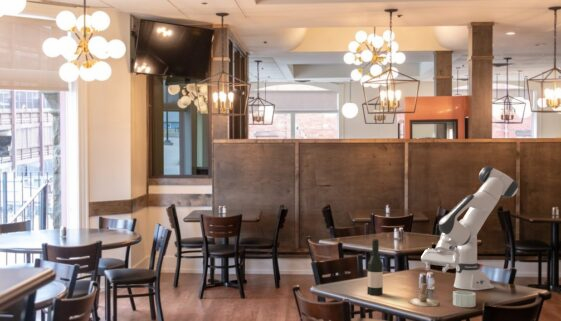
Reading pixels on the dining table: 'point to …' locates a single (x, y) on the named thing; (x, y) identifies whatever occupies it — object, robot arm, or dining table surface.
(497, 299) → the dining table surface
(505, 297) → the dining table surface
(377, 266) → the wine bottle
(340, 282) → the dining table surface
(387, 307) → the dining table surface
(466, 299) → the bowl
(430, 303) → the lid
